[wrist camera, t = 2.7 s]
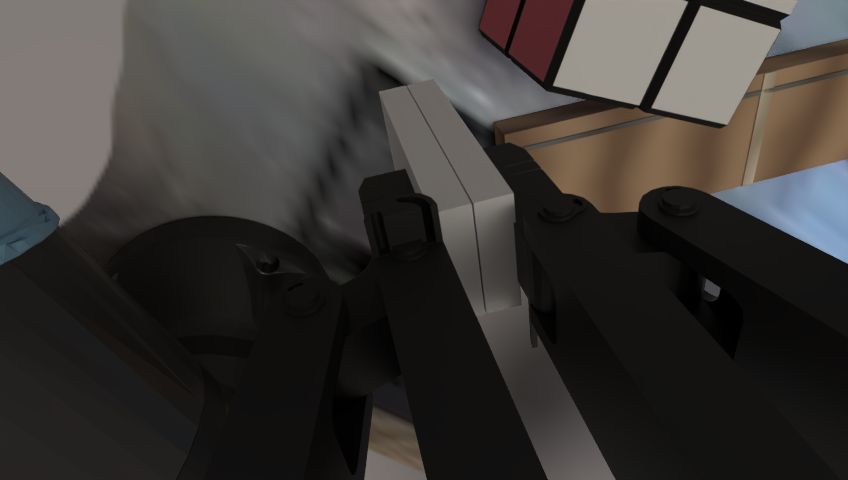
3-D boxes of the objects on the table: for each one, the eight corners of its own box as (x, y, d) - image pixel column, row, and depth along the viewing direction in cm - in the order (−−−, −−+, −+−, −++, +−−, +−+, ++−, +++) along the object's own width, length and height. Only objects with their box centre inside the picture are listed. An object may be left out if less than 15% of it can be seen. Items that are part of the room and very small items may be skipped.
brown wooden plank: (503, 228, 39) (513, 244, 37) (493, 122, 34) (505, 135, 33) (840, 143, 41) (864, 155, 39) (874, 32, 37) (903, 41, 35)
